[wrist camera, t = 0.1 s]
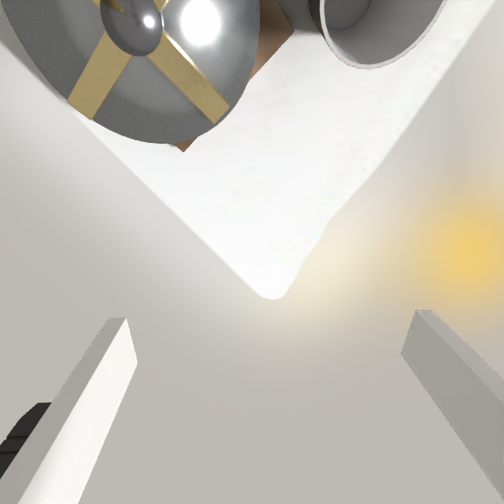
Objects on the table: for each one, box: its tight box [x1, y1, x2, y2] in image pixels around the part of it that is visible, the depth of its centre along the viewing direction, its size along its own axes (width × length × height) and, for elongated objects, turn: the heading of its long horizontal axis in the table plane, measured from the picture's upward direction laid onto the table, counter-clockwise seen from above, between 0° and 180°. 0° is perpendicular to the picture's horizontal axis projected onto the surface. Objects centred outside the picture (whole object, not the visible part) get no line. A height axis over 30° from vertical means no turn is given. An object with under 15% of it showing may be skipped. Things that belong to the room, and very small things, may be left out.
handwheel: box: [1, 0, 260, 144], centre depth 16 cm, size 18×18×12 cm
